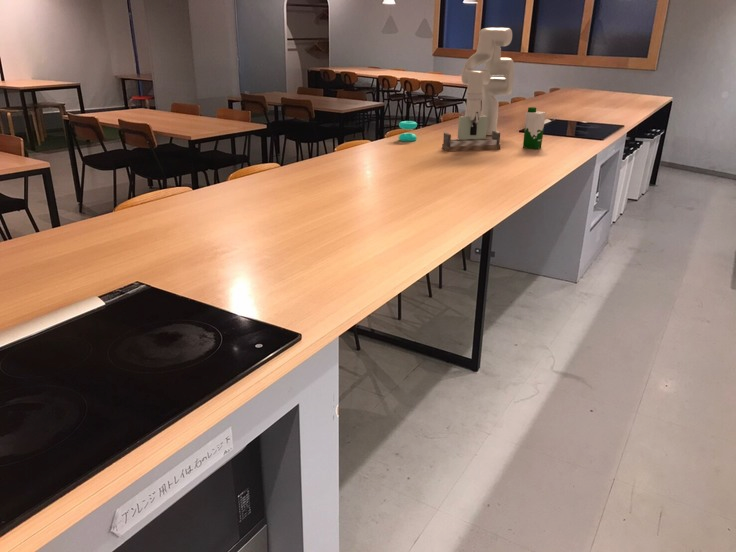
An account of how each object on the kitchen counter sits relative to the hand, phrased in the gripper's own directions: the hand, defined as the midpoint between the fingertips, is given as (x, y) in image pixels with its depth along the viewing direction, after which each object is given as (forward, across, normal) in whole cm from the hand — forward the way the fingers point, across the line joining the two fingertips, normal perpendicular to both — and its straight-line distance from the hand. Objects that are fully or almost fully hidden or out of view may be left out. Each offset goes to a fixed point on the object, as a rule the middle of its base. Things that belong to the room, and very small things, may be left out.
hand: (471, 134), depth 297 cm
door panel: (+2, 0, 0) cm, 2 cm away
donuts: (+8, -30, -26) cm, 40 cm away
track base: (+7, 0, 0) cm, 7 cm away
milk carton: (+8, +4, +32) cm, 33 cm away
